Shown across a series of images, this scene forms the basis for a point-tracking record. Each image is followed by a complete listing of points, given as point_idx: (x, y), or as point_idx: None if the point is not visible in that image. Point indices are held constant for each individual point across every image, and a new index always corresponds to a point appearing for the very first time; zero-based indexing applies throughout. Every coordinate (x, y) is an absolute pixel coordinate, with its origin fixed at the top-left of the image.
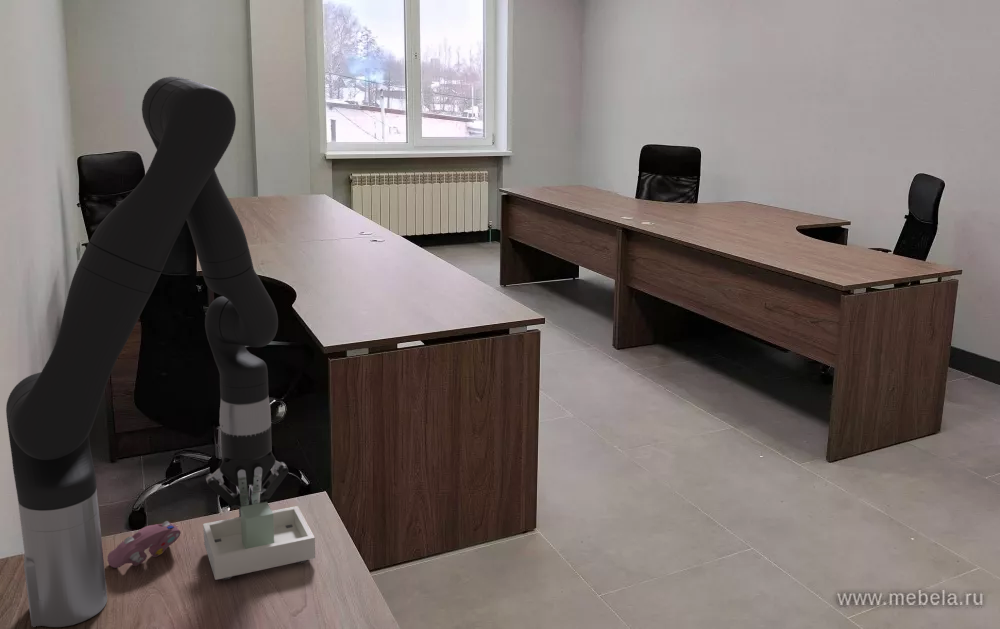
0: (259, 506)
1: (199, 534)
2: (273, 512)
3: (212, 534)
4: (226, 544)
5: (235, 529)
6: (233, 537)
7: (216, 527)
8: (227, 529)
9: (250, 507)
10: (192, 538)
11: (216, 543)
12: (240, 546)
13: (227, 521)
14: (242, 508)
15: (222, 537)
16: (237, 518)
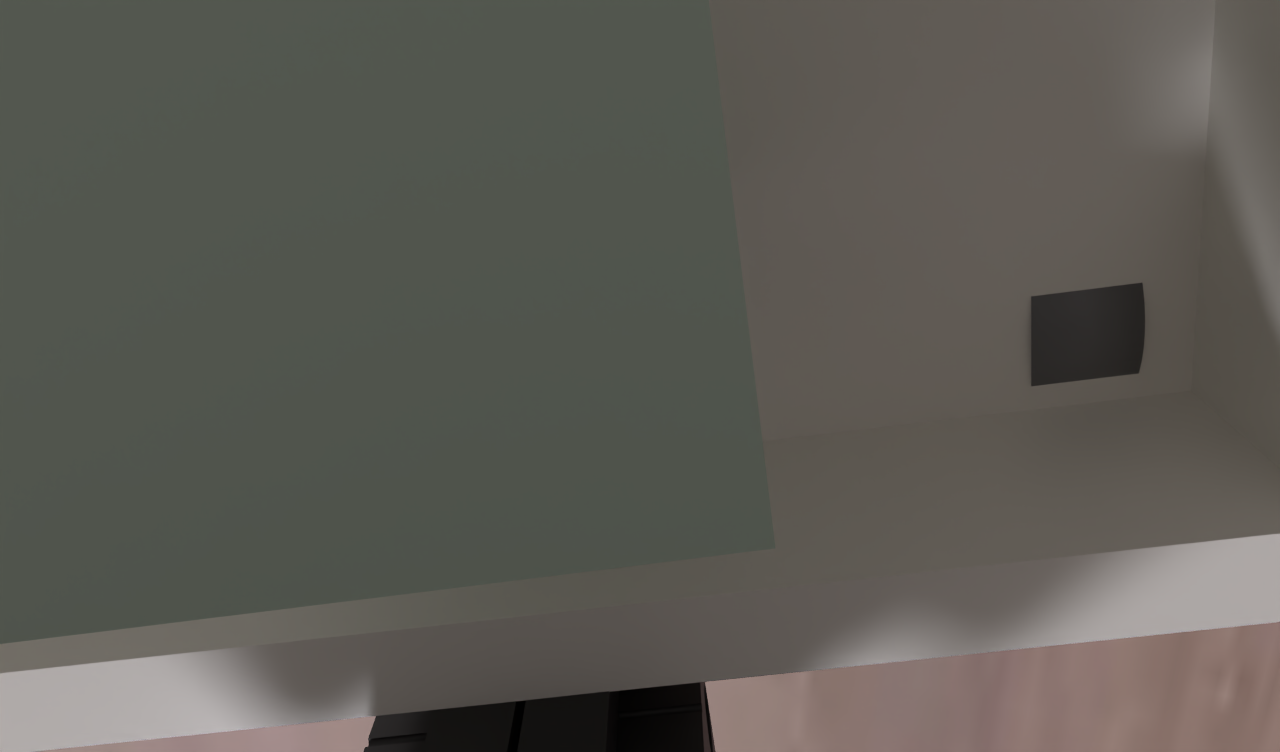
0: (17, 405)
1: (1152, 731)
2: (83, 680)
3: (1187, 432)
4: (968, 171)
5: (799, 481)
6: (830, 362)
7: (1165, 500)
8: (941, 480)
9: (384, 415)
10: (1246, 672)
11: (1122, 242)
12: (745, 33)
13: (976, 571)
14: (709, 413)
15: (996, 407)
16: (772, 631)
